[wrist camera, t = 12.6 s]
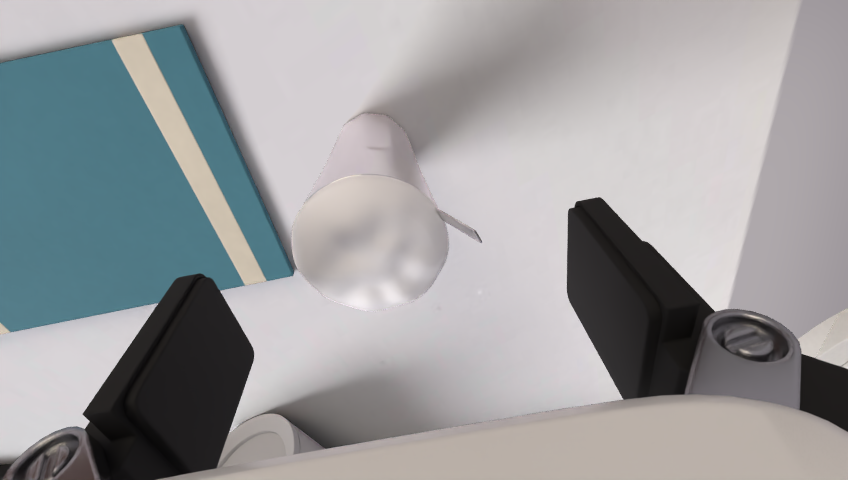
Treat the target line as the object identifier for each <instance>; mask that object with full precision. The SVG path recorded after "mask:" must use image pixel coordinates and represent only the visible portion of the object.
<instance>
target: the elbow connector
mask: <svg viewBox="0 0 848 480" xmlns="http://www.w3.org/2000/svg"><path fill="white" fill-rule="evenodd" d="M323 449H325V448H323V447H322V446H321V445H320V444H318V443H317V442H316V441H314V440H313V439H312V438H310V437H309V436H308V435H306V434H305V433H304V432H303V431H301V430H300V429H299V428H297V427H296V426H295V425H293V424H292V423H291V422H289V421H288V420H287V419H286V418H284V417H282V416H281V415H278V414H270V413H269V414H263V415H259V416H256V417H254V418H251V419H250V420H248V421H246V422H244V423H243V424H241V425H240V426H238V427H237V428H236V429H234V430H233V431H232V432H231V433H230V434H228V436H227V439H226V442H225V445H224V448H223V451H222V454H221V457H220V460H219V463H218V466H217V468H222V467H227V466H233V465H238V464H244V463H249V462H255V461H261V460H266V459H272V458H277V457H283V456H288V455H294V454H300V453H305V452H311V451H317V450H323Z"/></svg>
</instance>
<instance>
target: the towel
mask: <svg viewBox="0 0 848 480" xmlns="http://www.w3.org/2000/svg"><path fill="white" fill-rule="evenodd" d="M199 273H201V274H203V275H205V276H206V277H210V278H212V279H213V280H214V282H215V284H216V285H217V287H218V289H219V290H225V289H230V288H235V287H240V286H245V285H250V284H256V283H261V282H266V281H270V280H275V279H280V278H285V277H290V276H293V274H294V270H293V268H292V266H291V264H290V261H289V259H288V257H287V255H286V252H285V250H284V248H283V246H282V243H281V241H280V239H279V237H278V235H277V232H276V230H275V228H274V226H273V223H272V221H271V219H270V217H269V214H268V212H267V210H266V208H265V206H264V203H263V201H262V199H261V197H260V194H259V192H258V190H257V188H256V186H255V183H254V181H253V179H252V177H251V174H250V172H249V170H248V168H247V165H246V163H245V161H244V159H243V157H242V154H241V152H240V150H239V148H238V145H237V143H236V141H235V139H234V136H233V134H232V132H231V130H230V128H229V125H228V123H227V121H226V119H225V116H224V114H223V112H222V110H221V108H220V105H219V103H218V101H217V99H216V96H215V94H214V92H213V90H212V87H211V85H210V83H209V81H208V79H207V76H206V74H205V72H204V70H203V67H202V65H201V63H200V61H199V59H198V56H197V54H196V52H195V50H194V47H193V45H192V43H191V41H190V38H189V36H188V34H187V32H186V30H185V27H184V25H182V24H181V25H177V26H172V27H167V28H163V29H158V30H153V31H148V32H144V33H139V34H134V35H130V36H125V37H120V38H115V39H111V40H106V41H101V42H97V43H92V44H87V45H83V46H78V47H73V48H68V49H64V50H59V51H54V52H50V53H45V54H40V55H35V56H31V57H26V58H21V59H17V60H12V61H7V62H3V63H0V334H5V333H10V332H14V331H19V330H24V329H29V328H34V327H39V326H44V325H49V324H54V323H59V322H64V321H69V320H74V319H79V318H84V317H89V316H94V315H99V314H104V313H109V312H114V311H119V310H124V309H129V308H134V307H139V306H144V305H149V304H154V303H159V302H160V301H161V299H162V298H163V296H164V295H165V293H166V292H167V291H168V289H169V288H170V286H171V285H172V283H173V282H174V280H175V279H176V278H179V277H183V276H188V275H193V274H199Z"/></svg>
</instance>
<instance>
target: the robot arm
mask: <svg viewBox="0 0 848 480" xmlns="http://www.w3.org/2000/svg"><path fill="white" fill-rule="evenodd" d="M567 293H568V298H569V301H570V303H571V305H572V307H573V308H574V310H575V312H576V314H577V316H578V318H579V319H580V321H581V323H582V325H583V327H584V329H585V330H586V332H587V334H588V336H589V338H590V339H591V341H592V343H593V345H594V347H595V349H596V350H597V352H598V354H599V356H600V358H601V359H602V361H603V363H604V365H605V367H606V369H607V370H608V372H609V374H610V376H611V378H612V379H613V381H614V383H615V385H616V387H617V389H618V390H619V392H620V394H621V396H622V398H623V399H624V400H618V401H611V402H604V403H598V404H591V405H585V406H578V407H571V408H565V409H558V410H552V411H545V412H539V413H533V414H527V415H521V416H515V417H510V418H504V419H498V420H492V421H486V422H480V423H474V424H468V425H462V426H456V427H450V428H444V429H438V430H432V431H426V432H421V433H415V434H409V435H403V436H397V437H392V438H386V439H380V440H374V441H368V442H363V443H357V444H351V445H346V446H340V447H334V448H328V449H323V450H317V451H311V452H305V453H300V454H294V455H288V456H283V457H277V458H272V459H266V460H261V461H255V462H249V463H244V464H238V465H233V466H227V467H222V468H217V466H218V463H219V460H220V457H221V454H222V451H223V448H224V445H225V442H226V439H227V436H228V433H229V431H230V428H231V425H232V422H233V419H234V416H235V413H236V410H237V407H238V404H239V401H240V399H241V396H242V393H243V390H244V387H245V384H246V381H247V378H248V375H249V372H250V369H251V366H252V364H253V360H254V351H253V347H252V345H251V344H250V342H249V340H248V338H247V337H246V335H245V333H244V332H243V330H242V328H241V326H240V325H239V323H238V321H237V320H236V318H235V316H234V314H233V313H232V311H231V309H230V308H229V306H228V304H227V302H226V301H225V299H224V297H223V296H222V294H221V292H220V290H219V289H218V287H217V285H216V284H215V282H214V280H213V279H212V278H210V277H206V276H205V275H203V274H201V273H199V274H193V275H188V276H183V277H179V278H176V279H175V280H174V282H173V283H172V285H171V286H170V288H169V289H168V291H167V292H166V293H165V295H164V296H163V298H162V299H161V301H160V302H159V304H158V305H157V307H156V308H155V309H154V311H153V312H152V314H151V315H150V317H149V318H148V320H147V321H146V323H145V324H144V325H143V327H142V328H141V330H140V331H139V333H138V334H137V336H136V337H135V339H134V340H133V341H132V343H131V344H130V346H129V347H128V349H127V350H126V352H125V353H124V355H123V356H122V358H121V359H120V360H119V362H118V363H117V365H116V366H115V368H114V369H113V371H112V372H111V374H110V375H109V376H108V378H107V379H106V381H105V382H104V384H103V385H102V387H101V388H100V390H99V391H98V392H97V394H96V395H95V397H94V398H93V400H92V401H91V403H90V404H89V406H88V407H87V408H86V410H85V411H84V413H83V415H84V416H85V417H86V418H87V419H88V420H89V421H90V422H89V424H88V425H87V427H86V428H85V429H83V428H80V427H77V426H76V427H67V428H64V429H61V430H58V431H55V432H53V433H51V434H50V435H48V436H46V437H44V438H42V439H41V440H39V441H38V442H36V443H35V444H34V445H32V446H31V447H30V448H28V449H27V450H26V451H25V452H24V453H23V454H22V455H21V456H20V457H19V458H17V460H16V461H15V462H14V463H13V464H12V466H11V467H10V468H9V469H8V470H7V472H6V474H5V476H4V478H3V479H2V480H848V362H846V363H845V364H843V365H842V366H838V365H834V364H831V363H828V362H825V361H822V360H819V359H816V358H813V357H809V356H806V355H803V354H801V348H800V344H799V341H798V340H797V339H796V337H795V336H794V334H793V333H792V332H791V331H790V330H789V329H787V328H786V327H785V326H783V325H782V324H781V323H779V322H777V321H775V320H773V319H771V318H769V317H768V316H765V315H762V314H759V313H756V312H752V311H746V310H740V309H725V310H721V311H717V312H715V311H714V310H713V309H712V308H711V307H710V306H709V305H708V304H707V303H706V302H705V301H704V300H703V299H702V297H701V296H700V295H699V294H698V293H697V292H696V291H695V290H694V289H693V288H692V287H691V286H690V285H689V284H688V283H687V282H686V281H685V280H684V279H683V278H682V277H681V276H680V275H679V274H678V272H677V271H676V270H675V269H674V268H673V267H672V266H671V265H670V264H669V263H668V262H667V261H666V260H665V259H664V258H663V257H662V256H661V255H660V254H659V253H658V252H657V251H656V250H655V248H654V247H653V246H652V245H650V244H649V243H648V242H645V241H642V240H641V239H640V238H639V237H638V236H637V235H636V234H635V233H634V232H633V231H632V230H631V229H630V228H629V227H628V226H627V225H626V223H625V222H624V221H623V220H622V219H621V218H620V217H619V216H618V215H617V214H616V213H615V212H614V211H613V210H612V209H611V207H610V206H609V205H608V204H607V203H606V202H605V201H604V200H603V199H602V198H600V197H598V198H593V199H587V200H582V201H577V202H576V204H575V208H570V209H569V211H568V251H567Z"/></svg>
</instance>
